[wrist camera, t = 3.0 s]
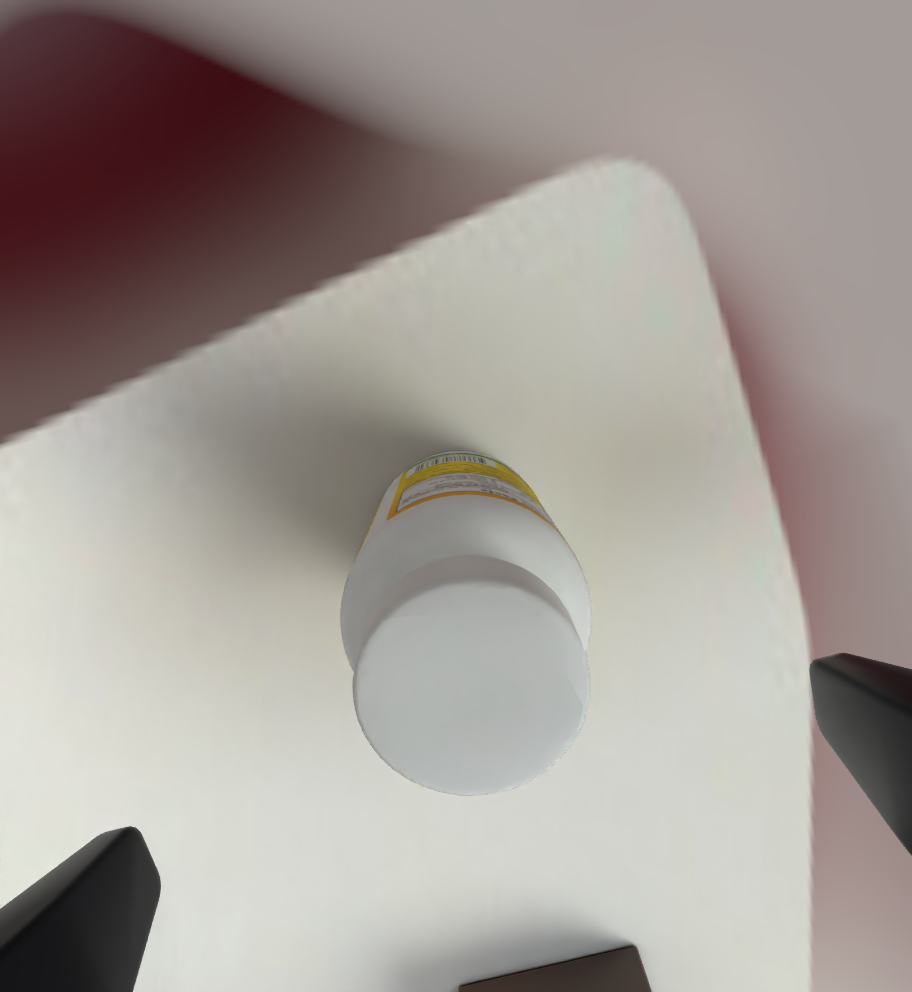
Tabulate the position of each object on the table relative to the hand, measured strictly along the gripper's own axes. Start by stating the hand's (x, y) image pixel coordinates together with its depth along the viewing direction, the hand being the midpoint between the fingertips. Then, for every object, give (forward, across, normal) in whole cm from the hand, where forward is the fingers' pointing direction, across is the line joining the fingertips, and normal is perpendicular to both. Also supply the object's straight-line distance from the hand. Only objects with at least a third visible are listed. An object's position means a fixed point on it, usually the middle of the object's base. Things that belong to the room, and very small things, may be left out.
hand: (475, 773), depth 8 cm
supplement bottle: (+12, 0, 0) cm, 12 cm away
